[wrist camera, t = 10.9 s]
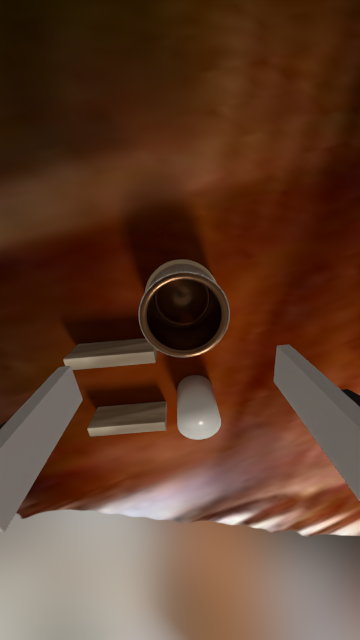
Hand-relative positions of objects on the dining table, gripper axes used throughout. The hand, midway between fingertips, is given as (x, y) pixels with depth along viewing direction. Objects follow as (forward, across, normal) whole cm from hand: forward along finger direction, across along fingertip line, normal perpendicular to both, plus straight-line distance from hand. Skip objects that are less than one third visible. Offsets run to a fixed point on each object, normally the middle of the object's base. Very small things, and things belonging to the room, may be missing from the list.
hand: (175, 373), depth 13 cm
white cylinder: (+21, +2, -20) cm, 28 cm away
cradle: (+21, -11, -15) cm, 28 cm away
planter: (+20, +1, 0) cm, 21 cm away
